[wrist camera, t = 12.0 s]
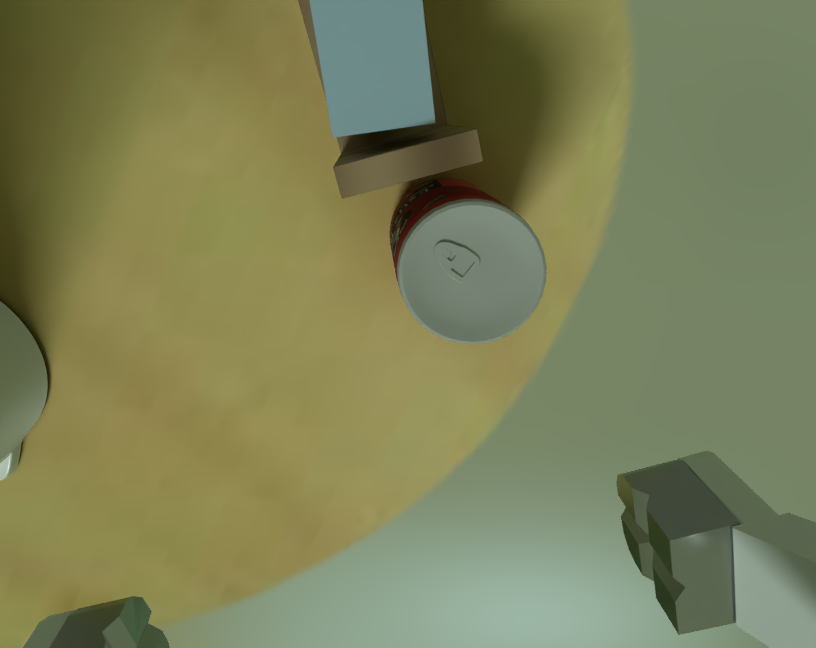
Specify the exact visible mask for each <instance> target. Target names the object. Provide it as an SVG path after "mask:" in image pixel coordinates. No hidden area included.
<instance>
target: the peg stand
mask: <svg viewBox="0 0 816 648" xmlns="http://www.w3.org/2000/svg"><path fill="white" fill-rule="evenodd" d="M298 1H299V5H300V8H301V12H302V15H303V19H304V23H305V26H306V30H307V33H308V37H309V40H310V44H311V47H312V51H313V55H314V58H315V62H316V65H317V69H318V72H319V76H320V79H321V83H322V87H323V90H324V94H325V89H324V83H323V78H322V72H321V66H320V60H319V54H318V48H317V42H316V36H315V30H314V25H313V19H312V13H311V7H310V1H309V0H298ZM424 20H425V17H424ZM425 30H426V39H427V48H428V58H429V67H430V77H431V86H432V96H433V105H434V114H435V123H433V124H426V125H419V126H412V127H405V128H398V129H391V130H384V131H377V132H369V133H362V134H355V135H348V136H341V137H337V140H338V143H339V147H340V151H341V155H340V157H339V158H338V160H337V162H336V163H335V165H334V167H333V169H334V172H335V176H336V179H337V183H338V186H339V190H340V193H341V196H342V199H343V198H346V197H350V196H354V195H358V194H362V193H365V192H369V191H373V190H377V189H380V188H384V187H388V186H392V185H395V184H399V183H403V182H407V181H411V180H414V179H418V178H422V177H426V176H429V175H433V174H437V173H441V172H444V171H448V170H452V169H456V168H460V167H463V166H467V165H471V164H475V163H478V162H482V161H483V158H482V153H481V148H480V143H479V138H478V132H477V129H472V128H464V127H456V126H448V125H447V121H446V116H445V112H444V107H443V102H442V97H441V93H440V88H439V83H438V78H437V74H436V69H435V64H434V59H433V55H432V50H431V45H430V40H429V36H428V31H427V26H426V21H425ZM325 97H326V95H325Z"/></svg>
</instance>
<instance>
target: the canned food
mask: <svg viewBox="0 0 816 648" xmlns="http://www.w3.org/2000/svg"><path fill="white" fill-rule="evenodd" d="M390 244H391V250H392V256H393V261H394V267H395V272H396V278H397V281H398V285H399V288H400V292H401V296H402V298H403V300H404V302H405V304H406V305H407V307H408V309H409V311H410V312H411V313H412V315H413V316H414V317H415V318H416V320H417V321H418V322H419V323H420V324H421V325H423V326H424V327H425V328H426V329H427V330H428V331H430V332H432V333H434V334H435V335H437V336H439V337H441V338H444V339H447V340H450V341H453V342H458V343H465V344H478V343H485V342H490V341H494V340H497V339H499V338H502V337H504V336H506V335H508V334H510V333H511V332H513V331H514V330H516V329H517V328H519V327H520V326H521V325H522V324H523V323H524V322H525V321H526V320H527V319H528V318H529V317H530V316H531V314H532V313H533V312H534V310H535V309H536V307H537V306H538V303H539V301H540V299H541V297H542V294H543V291H544V286H545V282H546V262H545V256H544V252H543V249H542V247H541V244H540V242H539V239H538V238H537V236H536V235H535V233H534V232H533V230H532V229H531V227H530V226H529V225H528V224H527V223H526V222H525V221H524V220H523V219H522V218H521V217H520V216H519V215H518V214H517V213H515V212H514V211H513V210H511V209H510V208H508V207H507V206H505V205H504V204H502V203H501V202H499V201H497V200H496V199H494V198H492V197H491V196H489V195H488V194H486V193H484V192H483V191H481V190H480V189H478V188H476V187H475V186H473V185H471V184H469V183H466V182H464V181H460V180H455V179H437V180H432V181H428V182H426V183H423V184H421V185H419V186H417V187H416V188H414V189H413V190H411V191H410V192H409V193H408V194H407V195H406V196H405V197H404V198H403V199H402V200H401V201H400V203H399V205H398V206H397V208H396V210H395V211H394V214H393V217H392V220H391V226H390Z"/></svg>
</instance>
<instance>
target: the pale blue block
mask: <svg viewBox="0 0 816 648" xmlns="http://www.w3.org/2000/svg"><path fill="white" fill-rule="evenodd" d="M309 1H310V7H311V13H312V19H313V25H314V30H315V36H316V42H317V48H318V54H319V60H320V66H321V72H322V78H323V83H324V89H325V95H326V101H327V107H328V113H329V119H330V125H331V131H332V136H333V138H334V137H341V136H348V135H355V134H362V133H369V132H377V131H384V130H391V129H398V128H405V127H412V126H419V125H426V124H433V123H435V114H434V105H433V96H432V86H431V77H430V67H429V58H428V48H427V39H426V30H425V20H424V11H423V1H422V0H309Z"/></svg>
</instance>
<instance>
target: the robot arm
mask: <svg viewBox="0 0 816 648" xmlns="http://www.w3.org/2000/svg"><path fill="white" fill-rule="evenodd" d="M47 389H48V380H47V372H46V367H45V363H44V360H43V357H42V354H41V352H40V349H39V347H38V345H37V343H36V341H35V340H34V338H33V336H32V335H31V333H30V332H29V330H28V329H27V328H26V326H25V325H24V324H23V322H22V321H21V320H20V319H19V318H18V317H17V316H16V315H15V314H14V313H13V312H12V311H11V310H10V309H9V308H8V307H7V306H6V305H4V304H3V303H2V302H1V301H0V480H3V479H5V478H6V477H7V476H9V475H10V474H11V473H13V472H14V471H15V470H16V468H17V466H18V462H19V458H20V451H21V443H22V441H23V439H24V437H25V436H26V434H27V433H28V432H29V431H30V430H31V428H32V427H33V426H34V424H35V423H36V422H37V420H38V419H39V417H40V415H41V413H42V411H43V408H44V405H45V402H46V397H47ZM617 490H618V496H619V497H620V499H621V500H622V502H623V503H624V505H625V506H626V509H625V510H624V512H623V514H622V516H621V520H622V526H623V531H624V535H625V539H626V542H627V545H628V548H629V551H630V553H631V555H632V557H633V559H634V561H635V563H636V565H637V567H638V568H639V570H640V572H641V573H642V575H643V576H645V577H647V578H649V579H651V580H653V581H654V584H655V592H656V598H657V600H658V602H659V603H660V605H661V607H662V608H663V610H664V612H665V613H666V615H667V616H668V618H669V620H670V621H671V623H672V625H673V626H674V628H675V629H676V631H677V633H678V634H679V635H680V634H685V633H689V632H694V631H699V630H703V629H708V628H712V627H718V626H722V625H727V624H731V623H736V626H738V627H739V628H741V629H742V630H744V631H745V632H747V633H748V634H750V635H752V636H753V637H755V638H756V639H758V640H759V641H761V642H762V643H764V644H765V645H767V646H768V647H770V648H816V523H815V522H813V521H810V520H807V519H804V518H801V517H799V516H796V515H793V514H790V513H787V514H782V515H778V514H777V513H776V512H775V511H774V510H773V509H772V508H771V507H770V506H769V505H768V504H767V503H765V501H763V499H761V498H760V497H759V496H758V495H757V494H756V493H755V492H754V491H753V490H752V489H751V488H750V487H749V486H748V485H747V484H746V483H745V482H744V481H743V480H742V479H740V478H739V477H738V476H737V475H736V474H735V473H734V472H733V471H732V470H731V469H730V468H729V467H728V466H727V465H726V464H725V463H724V462H723V461H722V460H721V459H720V458H718V457H717V456H716V455H715V454H714V453H712V452H710V451H704V452H700V453H697V454H693V455H689V456H686V457H682V458H679V459H677V460H674V461H670V462H666V463H662V464H658V465H654V466H650V467H647V468H642V469H638V470H635V471H631V472H627V473H623V474H619V475H618V476H617ZM150 615H151V610H150V609H149V607H148V605H147V604H146V602H145V601H144V599H143V598H142V597H135V596H132V597H128V598H124V599H119V600H115V601H110V602H106V603H101V604H97V605H92V606H88V607H84V608H79V609H77V610H73V611H68V612H64V613H60V614H55V615H51V616H49V617H47V618H46V619H44V620H43V621H41V622H40V623H39V624H38V625H37V627H36V628H35V630H34V632H33V633H32V635H31V636H30V638H29V639H28V641H27V642H26V644H25V645H24V647H23V648H169V643H168V641H167V639H166V637H165V635H164V633H163V631H162V630H160V629H158V628H156V627H154V626H152V625H150V624H148V621H149V618H150Z"/></svg>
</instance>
